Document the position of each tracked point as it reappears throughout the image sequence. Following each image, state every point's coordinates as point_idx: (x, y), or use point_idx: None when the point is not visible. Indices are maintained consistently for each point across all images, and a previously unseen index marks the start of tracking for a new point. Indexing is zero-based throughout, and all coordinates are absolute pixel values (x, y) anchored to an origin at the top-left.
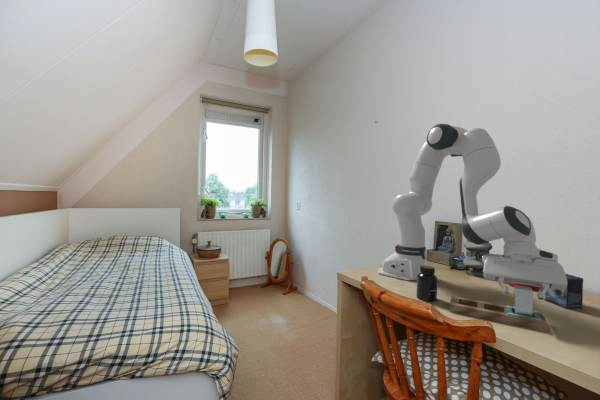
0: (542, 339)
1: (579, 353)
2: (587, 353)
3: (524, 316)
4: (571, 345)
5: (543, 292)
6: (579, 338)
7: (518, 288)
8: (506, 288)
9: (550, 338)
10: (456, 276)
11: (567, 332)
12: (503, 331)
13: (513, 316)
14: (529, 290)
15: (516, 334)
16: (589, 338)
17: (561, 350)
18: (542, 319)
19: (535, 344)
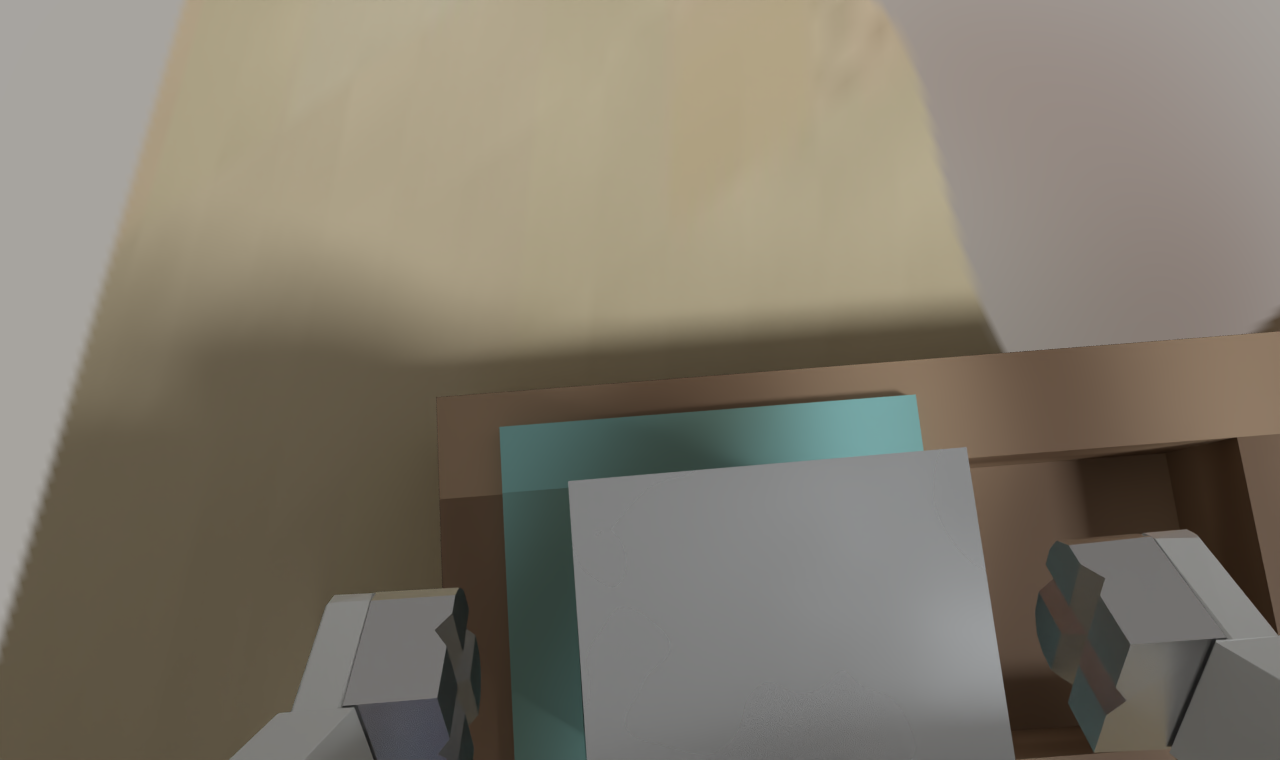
0: (534, 227)
1: (260, 105)
2: (190, 153)
3: (706, 429)
4: (287, 258)
5: (326, 692)
6: (159, 537)
7: (901, 516)
8: (1158, 586)
9: (455, 313)
10: None
11: (243, 659)
12: (898, 178)
13: (839, 376)
14: (645, 507)
15: (772, 185)
16: (50, 618)
17: (400, 66)
18: (484, 525)
19: (607, 49)
